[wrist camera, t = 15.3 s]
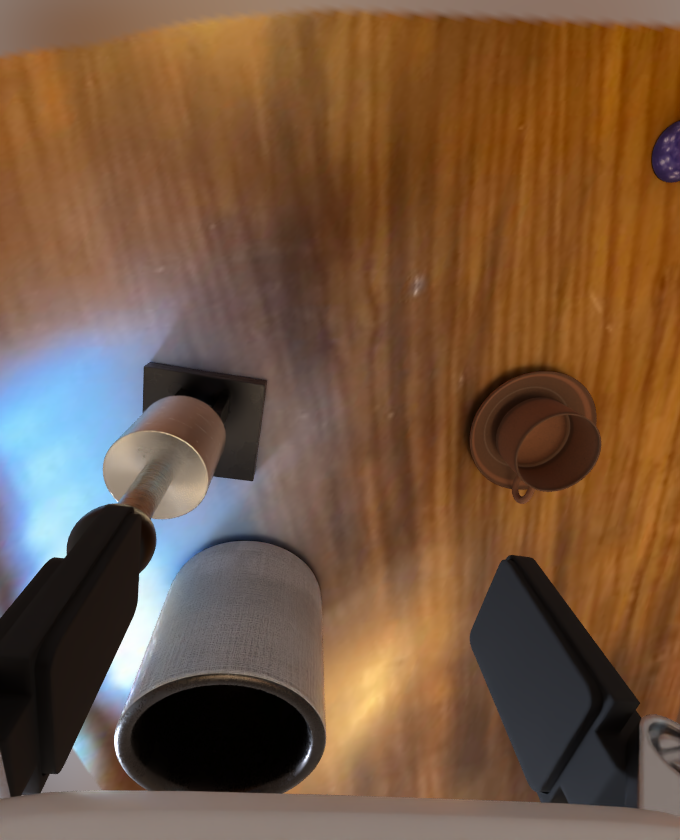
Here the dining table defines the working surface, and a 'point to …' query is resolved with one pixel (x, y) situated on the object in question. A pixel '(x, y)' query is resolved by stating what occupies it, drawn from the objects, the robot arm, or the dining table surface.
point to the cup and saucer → (536, 434)
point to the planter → (230, 677)
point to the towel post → (161, 465)
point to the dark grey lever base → (217, 409)
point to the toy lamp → (668, 154)
